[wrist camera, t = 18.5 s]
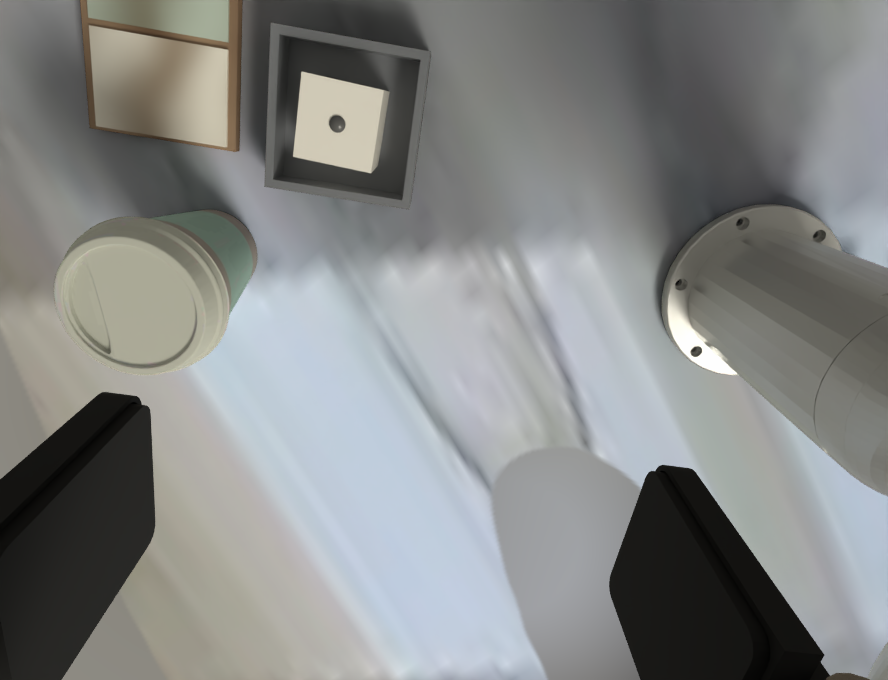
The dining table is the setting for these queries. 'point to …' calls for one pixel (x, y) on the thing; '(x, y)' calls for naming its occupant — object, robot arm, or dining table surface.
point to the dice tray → (354, 64)
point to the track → (165, 69)
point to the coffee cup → (154, 288)
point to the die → (340, 122)
